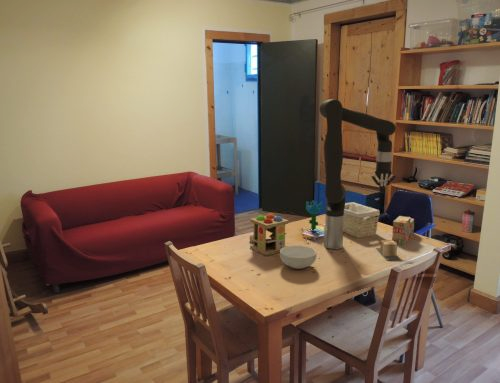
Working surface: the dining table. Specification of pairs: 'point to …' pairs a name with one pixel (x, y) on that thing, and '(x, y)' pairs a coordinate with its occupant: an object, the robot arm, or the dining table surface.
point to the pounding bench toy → (277, 237)
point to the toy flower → (313, 212)
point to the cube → (388, 248)
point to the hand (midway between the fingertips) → (382, 192)
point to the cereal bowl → (298, 256)
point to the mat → (390, 257)
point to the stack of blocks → (402, 229)
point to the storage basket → (360, 220)
